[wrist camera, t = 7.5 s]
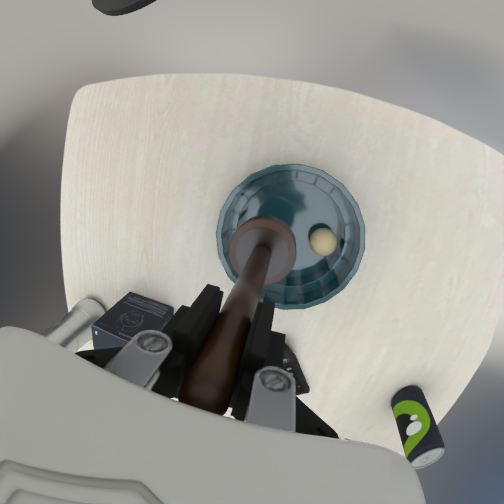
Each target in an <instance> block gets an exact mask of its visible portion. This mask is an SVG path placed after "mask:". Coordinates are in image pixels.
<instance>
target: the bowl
mask: <svg viewBox="0 0 504 504" xmlns="http://www.w3.org/2000/svg"><path fill="white" fill-rule="evenodd" d="M259 215H270V216H274V217H277V218H279V219H281V220H282V221H284V222H285V223H286V224H287V225H288V226H289V227H290V228H291V230H292V231H293V233H294V236H295V240H296V261H295V264H294V267H293V268H292V270H291V272H290V273H289V274H288V275H287V276H286V277H285V278H284V279H282V280H281V281H279V282H276V283H274V284H269V285H264V286H263V289H262V293H261V297H260V300H259V302H262V303H263V300H267V301H271V302H275V308H279V309H283V310H284V309H306V308H309V307H312V306H315V305H318V304H321V303H324V302H326V301H328V300H329V299H330V298H332V297H333V296H335V295H336V294H337V293H339V292H340V291H342V290H343V289H344V288H345V287H346V285H347V284H348V283H349V281H350V280H351V279H352V277H353V276H354V275H355V273H356V272H357V270H358V268H359V265H360V262H361V259H362V256H363V253H364V249H365V225H364V222H363V218H362V215H361V212H360V209H359V206H358V204H357V202H356V201H355V199H354V198H353V197H352V195H351V194H350V193H349V191H348V190H347V189H346V188H345V186H344V185H343V184H342V183H340V182H339V181H337V180H336V179H335V178H333V177H332V176H330V175H329V174H327V173H326V172H324V171H322V170H319V169H316V168H312V167H308V166H305V165H301V164H287V165H274V166H271V167H268V168H266V169H263V170H261V171H258V172H256V173H254V174H251V175H250V176H249V177H247V178H246V179H245V180H244V181H243V182H242V183H241V184H239V185H238V186H237V187H236V188H235V189H234V190H233V191H232V192H231V194H230V195H229V197H228V199H227V201H226V202H225V204H224V206H223V208H222V209H221V212H220V216H219V221H218V226H217V231H216V238H217V246H218V254H219V258H220V260H221V262H222V264H223V267H224V269H225V271H226V273H227V275H228V277H229V278H230V279H231V280H232V281H233V282H234V283H236V281H237V279H238V277H239V275H238V274H237V272H236V271H235V270H234V268H233V266H232V264H231V262H230V259H229V244H230V240H231V238H232V236H233V234H234V233H235V232H236V230H237V229H238V228H239V227H240V226H241V225H242V224H243V223H244V222H245V221H247V220H248V219H250V218H252V217H255V216H259ZM319 228H328V229H330V230H331V231H333V232H334V234H335V235H336V238H337V246H336V249H335V250H334V251H333V252H332V253H331V254H329V255H327V256H320V255H317V254H316V253H314V252H313V251H312V249H311V247H310V243H309V241H310V236H311V234H312V233H313V232H314V231H315V230H317V229H319Z"/></svg>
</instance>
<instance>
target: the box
mask: <svg viewBox="0 0 504 504" xmlns="http://www.w3.org/2000/svg"><path fill="white" fill-rule="evenodd" d="M173 311H174V309H173V307H170V306H167V305H164V304H161V303H158V302H156V301H153V300H150V299H147V298H145V297H142V296H139V295H136V294H134V293H131V292H129V293H128V294H127V295H126V296H124V297H123V298H122V299H121V300H120V301H119V302H117V303H116V304H115V305H114V306H113V307H111V308H110V309H109V310H108V311H107V312H106V313H105V314H103V315H102V316H101V317H100V318H99V319H98V320H97V321H95V322H94V323H93V324H92V325H91V329H92V338H93V346H94V350H96V349H106V348H115V347H123V346H125V345H126V344H127V343H128V342H129V341H130V340H131V339H132V338H133V337H134V336H135V335H136V334H138V333H139V332H142V331H145V330H156V331H161V330H162V329H163V328H164V327H165V325H166V324H167V323H168V322H169V320H170V319H171V318H172V317H173Z"/></svg>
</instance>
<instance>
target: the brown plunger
mask: <svg viewBox="0 0 504 504" xmlns="http://www.w3.org/2000/svg"><path fill="white" fill-rule="evenodd" d="M229 259H230V262H231V264H232V266H233V268H234V270H235V271H236V272H237V274H238V275H239V277H238V279H237V281H236V283H235V285H234V287H233V288H232V290H231V292H230V294H229V296H228V298H227V300H226V302H225V304H224V306H223V307H222V309H221V311H220V313H219V315H218V317H217V319H216V321H215V323H214V325H213V327H212V329H211V331H210V332H209V334H208V336H207V338H206V340H205V342H204V344H203V346H202V348H201V350H200V352H199V353H198V355H197V357H196V359H195V361H194V363H193V365H192V367H191V368H190V370H189V372H188V374H187V376H186V378H185V380H184V382H183V383H182V385H181V387H180V390H179V394H178V401H179V402H181V403H184V404H187V405H190V406H193V407H196V408H199V409H202V410H205V411H208V412H211V413H215V414H218V415H222V416H223V415H224V414H225V413H226V411H227V409H228V407H229V405H230V401H231V398H232V394H233V391H234V388H235V379H236V376H237V372H238V368H239V365H240V361H241V358H242V354H243V351H244V348H245V344H246V341H247V337H248V334H249V331H250V327H251V324H252V321H253V317H254V314H255V310H256V307H257V303H258V301H259V300H260V297H261V293H262V289H263V286H264V285H269V284H274V283H276V282H279V281H281V280H282V279H284V278H285V277H286V276H287V275H288V274H289V273H290V272H291V270H292V268H293V267H294V264H295V261H296V240H295V236H294V233H293V231H292V230H291V228H290V227H289V226H288V225H287V224H286V223H285V222H284V221H282V220H281V219H279V218H277V217H274V216H270V215H259V216H255V217H252V218H250V219H248V220H247V221H245V222H244V223H243V224H242V225H241V226H240V227H239V228H238V229H237V230H236V232H235V233H234V234H233V236H232V238H231V240H230V244H229Z"/></svg>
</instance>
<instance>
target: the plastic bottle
mask: <svg viewBox="0 0 504 504" xmlns="http://www.w3.org/2000/svg"><path fill="white" fill-rule="evenodd" d="M103 314H105V311H104V309H103V307H102V306H101V305H100V304H99V303H98V302H97V301H95V300H92V299H84V300H82V301H79V302H78V303H77V304H76V305H75V306H74V307H73V308H72V310H71V311H70V312H69V313H68V314H67V315H66V316H65V317H64V318H63V319H62V320H61V321H59V322H57V323H56V324H54V325H53V326H52V327H50V328H49V329H47V330H45V331H43V332H41V333H39V335H41V336H43V337H45V338H47V339H49V340H51V341H53V342H55V343H56V344H58V345H60V346H62V347H63V348H65V349H67V350H69V351H71V352H72V353H74V354H75V352H76V351H77V350H78V349H79V348H80V347H82V346H83V345H84V344H85V343H87V342H88V341H89V340H91V339H93V338H92V329H91V325H92V324H93V323H94V322H95V321H97V320H98V319H99V318H100V317H101V316H102V315H103Z"/></svg>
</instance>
